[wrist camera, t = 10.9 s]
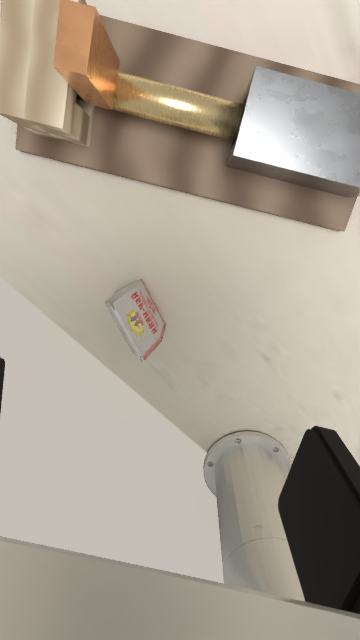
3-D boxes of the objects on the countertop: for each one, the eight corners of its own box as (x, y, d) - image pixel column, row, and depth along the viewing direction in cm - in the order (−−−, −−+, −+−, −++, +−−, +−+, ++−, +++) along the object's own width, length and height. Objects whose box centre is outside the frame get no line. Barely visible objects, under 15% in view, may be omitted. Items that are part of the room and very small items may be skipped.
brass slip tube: (280, 115, 34) (321, 67, 23) (268, 157, 35) (301, 131, 24) (64, 58, 33) (3, -18, 22) (59, 104, 34) (-1, 52, 24)
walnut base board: (387, 98, 36) (395, 93, 35) (339, 230, 40) (344, 231, 39) (35, 5, 35) (28, -5, 33) (22, 151, 39) (15, 148, 37)
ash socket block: (104, 40, 34) (79, -11, 26) (89, 147, 37) (62, 128, 29) (46, 25, 34) (3, -32, 26) (35, 133, 37) (-6, 111, 29)
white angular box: (140, 336, 45) (127, 368, 35) (116, 291, 43) (94, 312, 34) (165, 325, 44) (158, 354, 35) (141, 278, 43) (127, 296, 33)
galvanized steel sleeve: (372, 128, 36) (414, 107, 29) (347, 197, 38) (381, 193, 31) (243, 95, 35) (256, 65, 28) (225, 166, 37) (233, 155, 30)
